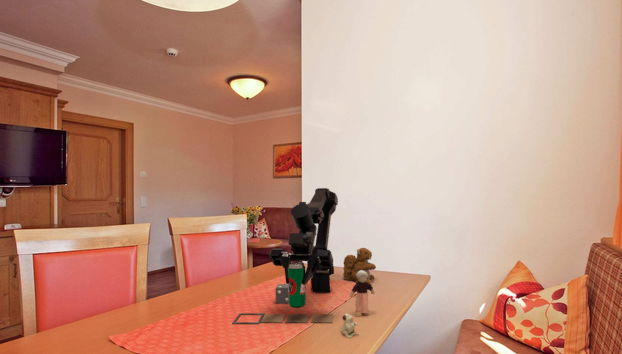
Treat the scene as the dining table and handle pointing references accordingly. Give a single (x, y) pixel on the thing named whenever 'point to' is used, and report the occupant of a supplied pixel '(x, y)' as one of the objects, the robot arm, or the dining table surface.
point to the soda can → (296, 285)
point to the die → (282, 294)
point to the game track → (290, 319)
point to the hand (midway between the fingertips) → (295, 283)
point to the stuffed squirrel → (358, 265)
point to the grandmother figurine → (362, 293)
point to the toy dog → (348, 326)
